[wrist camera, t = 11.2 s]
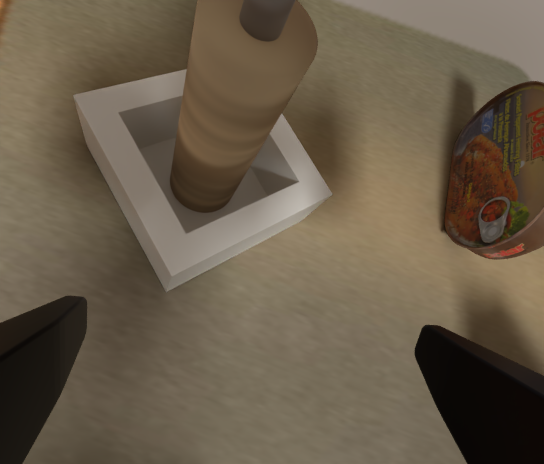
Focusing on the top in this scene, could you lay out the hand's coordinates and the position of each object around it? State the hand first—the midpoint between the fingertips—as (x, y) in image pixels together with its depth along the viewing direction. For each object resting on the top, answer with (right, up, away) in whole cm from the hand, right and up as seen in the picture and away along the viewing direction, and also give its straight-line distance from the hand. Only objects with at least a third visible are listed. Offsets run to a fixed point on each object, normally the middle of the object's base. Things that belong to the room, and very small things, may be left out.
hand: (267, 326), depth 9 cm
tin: (+17, +6, +22) cm, 28 cm away
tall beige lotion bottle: (-4, +6, +13) cm, 14 cm away
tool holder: (-4, +5, +13) cm, 15 cm away
